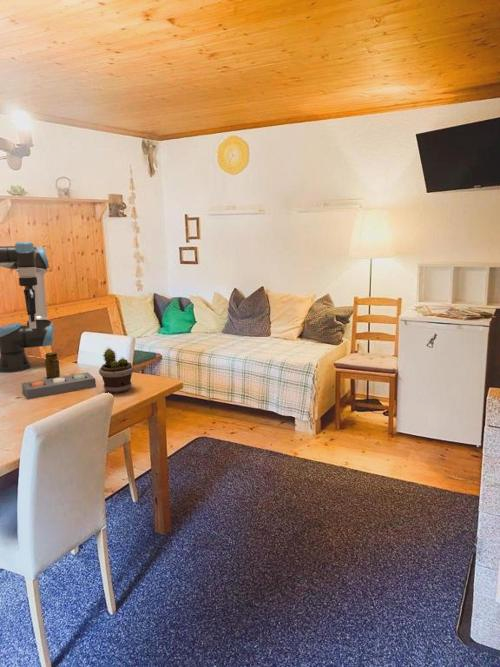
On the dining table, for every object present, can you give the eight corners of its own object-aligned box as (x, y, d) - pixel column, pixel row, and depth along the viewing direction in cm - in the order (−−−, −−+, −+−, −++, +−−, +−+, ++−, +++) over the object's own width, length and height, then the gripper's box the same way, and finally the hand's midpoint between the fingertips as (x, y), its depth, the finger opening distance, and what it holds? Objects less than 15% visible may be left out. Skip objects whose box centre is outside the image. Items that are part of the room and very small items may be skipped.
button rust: (31, 389, 218) (30, 382, 217) (43, 387, 220) (42, 380, 220) (33, 392, 214) (32, 385, 213) (45, 390, 216) (44, 383, 216)
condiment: (58, 374, 246) (56, 351, 243) (64, 378, 239) (62, 354, 237) (43, 377, 241) (40, 353, 239) (48, 381, 235) (46, 356, 232)
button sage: (72, 382, 227) (72, 375, 227) (83, 380, 230) (83, 373, 229) (75, 385, 223) (75, 377, 223) (86, 383, 226) (86, 376, 225)
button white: (52, 386, 223) (51, 378, 222) (63, 384, 225) (63, 376, 225) (55, 389, 218) (54, 381, 218) (66, 386, 221) (65, 379, 220)
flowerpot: (142, 388, 222) (139, 344, 218) (117, 397, 210) (113, 352, 205) (118, 383, 230) (115, 341, 226) (93, 392, 217) (89, 348, 213)
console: (22, 391, 219) (21, 383, 218) (88, 380, 235) (87, 372, 234) (27, 399, 209) (26, 390, 209) (95, 386, 225) (95, 378, 224)
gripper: (16, 276, 224) (21, 327, 229) (21, 278, 214) (26, 331, 218) (33, 275, 228) (38, 325, 233) (39, 277, 218) (44, 329, 222)
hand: (33, 328), depth 226 cm, fingers closed
